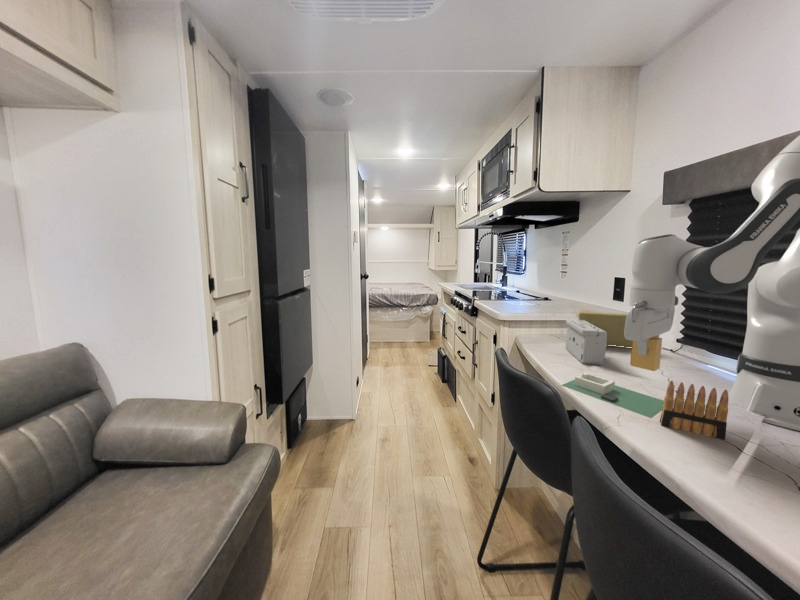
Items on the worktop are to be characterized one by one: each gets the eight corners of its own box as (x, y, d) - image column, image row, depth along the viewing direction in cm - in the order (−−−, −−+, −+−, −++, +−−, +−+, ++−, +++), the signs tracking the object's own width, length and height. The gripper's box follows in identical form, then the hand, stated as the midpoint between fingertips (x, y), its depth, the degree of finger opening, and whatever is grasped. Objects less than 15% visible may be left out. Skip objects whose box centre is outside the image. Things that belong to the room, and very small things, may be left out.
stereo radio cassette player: (605, 366, 111) (611, 312, 108) (580, 365, 113) (585, 311, 110) (583, 349, 132) (587, 303, 129) (562, 348, 133) (566, 303, 130)
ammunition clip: (660, 430, 71) (667, 381, 69) (658, 426, 72) (665, 378, 71) (724, 445, 65) (734, 392, 64) (721, 441, 67) (730, 389, 65)
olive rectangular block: (632, 346, 138) (636, 313, 136) (635, 351, 130) (640, 317, 127) (575, 338, 149) (578, 308, 147) (575, 343, 141) (578, 311, 138)
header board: (670, 407, 82) (672, 394, 81) (650, 422, 74) (652, 408, 73) (584, 379, 100) (585, 368, 99) (560, 388, 92) (561, 377, 92)
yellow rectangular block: (659, 368, 79) (662, 338, 78) (654, 371, 77) (656, 340, 76) (633, 362, 84) (636, 334, 83) (628, 365, 82) (630, 336, 81)
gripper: (650, 305, 70) (645, 363, 72) (681, 297, 81) (676, 348, 83) (618, 302, 75) (614, 356, 77) (651, 295, 86) (647, 343, 88)
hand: (646, 352), depth 80 cm, fingers closed on yellow rectangular block, 3 cm apart
